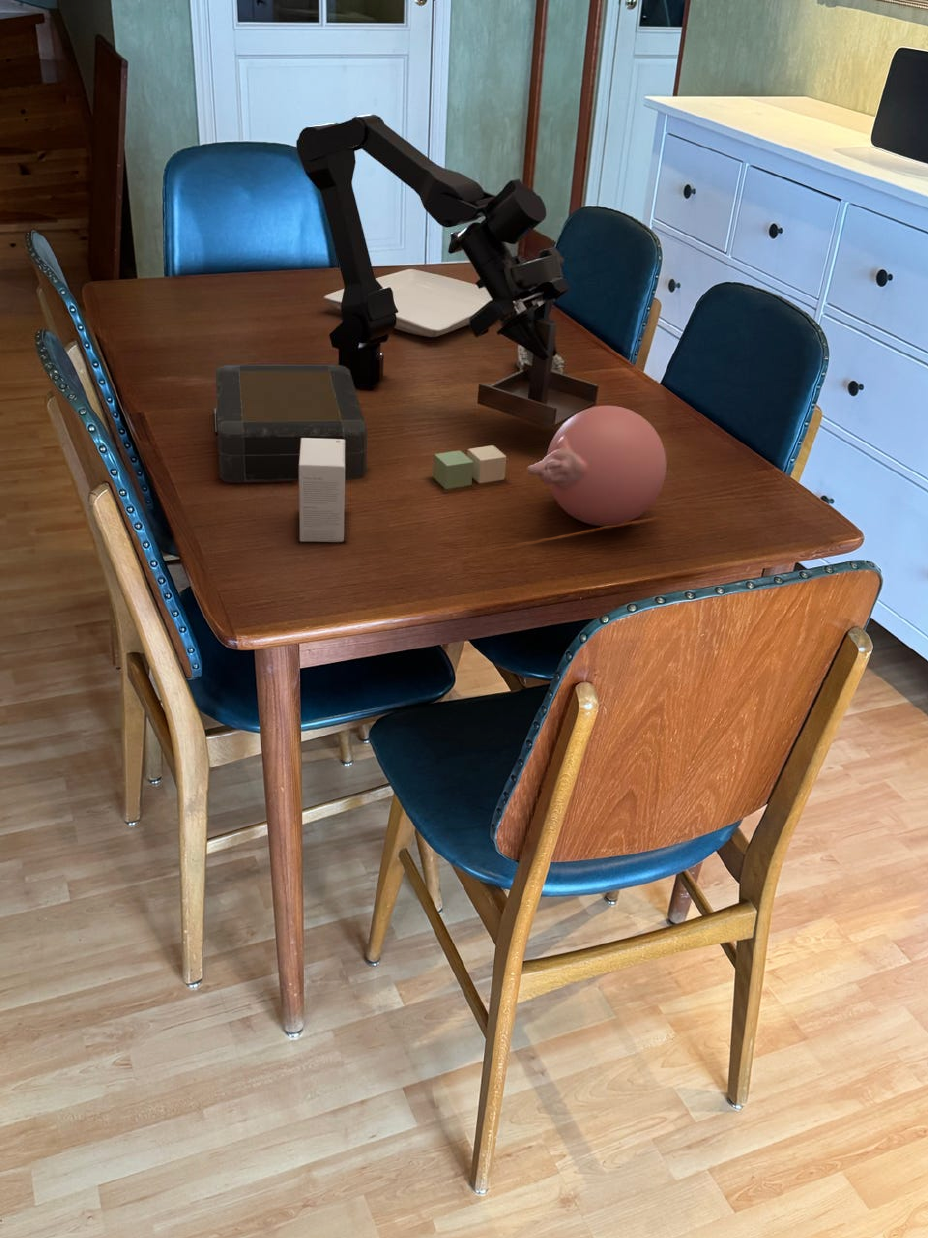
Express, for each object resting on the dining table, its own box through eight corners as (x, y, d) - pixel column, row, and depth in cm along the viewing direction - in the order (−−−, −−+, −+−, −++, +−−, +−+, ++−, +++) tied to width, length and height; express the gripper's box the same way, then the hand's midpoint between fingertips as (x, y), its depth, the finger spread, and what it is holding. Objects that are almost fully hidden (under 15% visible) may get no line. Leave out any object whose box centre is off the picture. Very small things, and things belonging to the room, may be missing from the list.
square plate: (409, 284, 229) (410, 265, 227) (519, 315, 217) (521, 296, 215) (321, 312, 210) (321, 292, 208) (435, 348, 198) (437, 327, 196)
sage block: (434, 453, 151) (446, 465, 148) (460, 449, 153) (473, 461, 150) (432, 480, 153) (445, 492, 150) (458, 476, 155) (471, 488, 152)
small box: (301, 512, 143) (300, 436, 137) (344, 513, 143) (345, 437, 138) (298, 542, 136) (297, 464, 130) (344, 543, 137) (345, 465, 131)
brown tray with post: (477, 403, 162) (484, 319, 156) (522, 381, 171) (531, 301, 165) (552, 429, 157) (563, 343, 150) (595, 404, 166) (608, 322, 159)
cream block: (467, 448, 153) (481, 460, 150) (493, 444, 155) (506, 456, 152) (465, 474, 155) (478, 486, 152) (490, 470, 157) (504, 482, 154)
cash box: (214, 412, 168) (211, 362, 163) (348, 410, 172) (348, 362, 167) (215, 485, 147) (212, 432, 143) (367, 482, 151) (368, 429, 147)
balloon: (488, 509, 147) (498, 400, 139) (612, 485, 156) (628, 381, 147) (549, 563, 136) (564, 448, 128) (679, 535, 145) (700, 425, 136)
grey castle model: (563, 387, 186) (566, 364, 184) (518, 385, 186) (521, 361, 184) (557, 364, 195) (560, 342, 193) (515, 362, 195) (517, 339, 193)
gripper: (494, 241, 146) (555, 344, 147) (566, 219, 159) (622, 313, 160) (442, 287, 154) (501, 384, 155) (514, 262, 167) (568, 351, 168)
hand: (550, 356), depth 159 cm, fingers closed on brown tray with post
